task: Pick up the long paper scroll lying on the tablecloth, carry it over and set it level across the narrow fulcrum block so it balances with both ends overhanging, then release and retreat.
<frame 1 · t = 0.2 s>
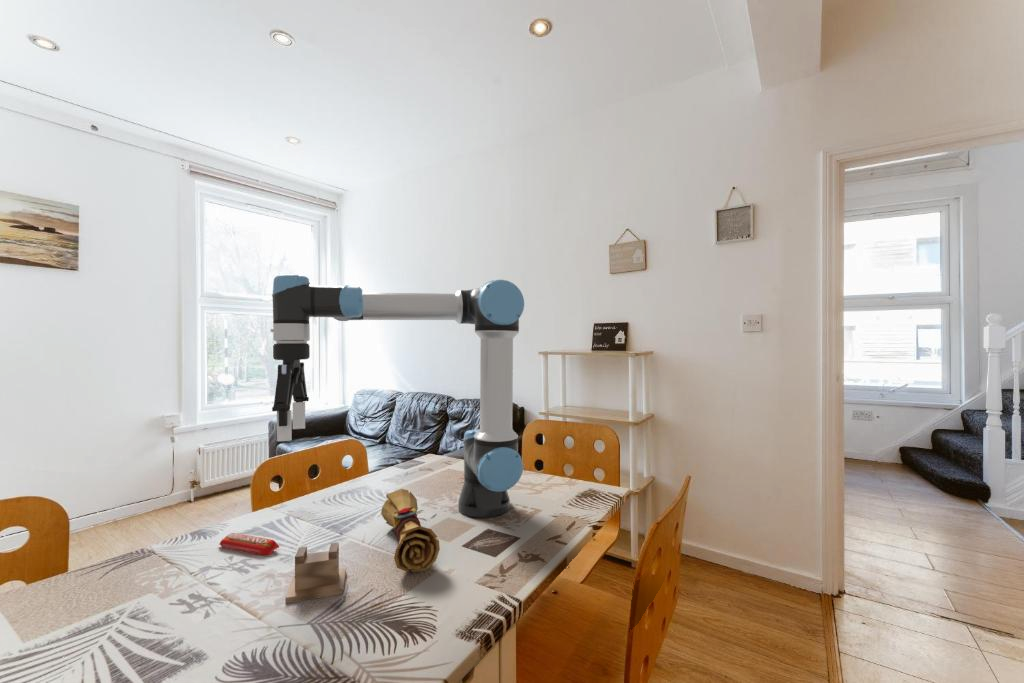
hand: (292, 434, 99), 28 cm above the table, fingers open, 13 cm apart
scroll: (407, 548, 102), on the table
candy bar: (248, 551, 101), on the table
ridge block: (317, 587, 86), on the table
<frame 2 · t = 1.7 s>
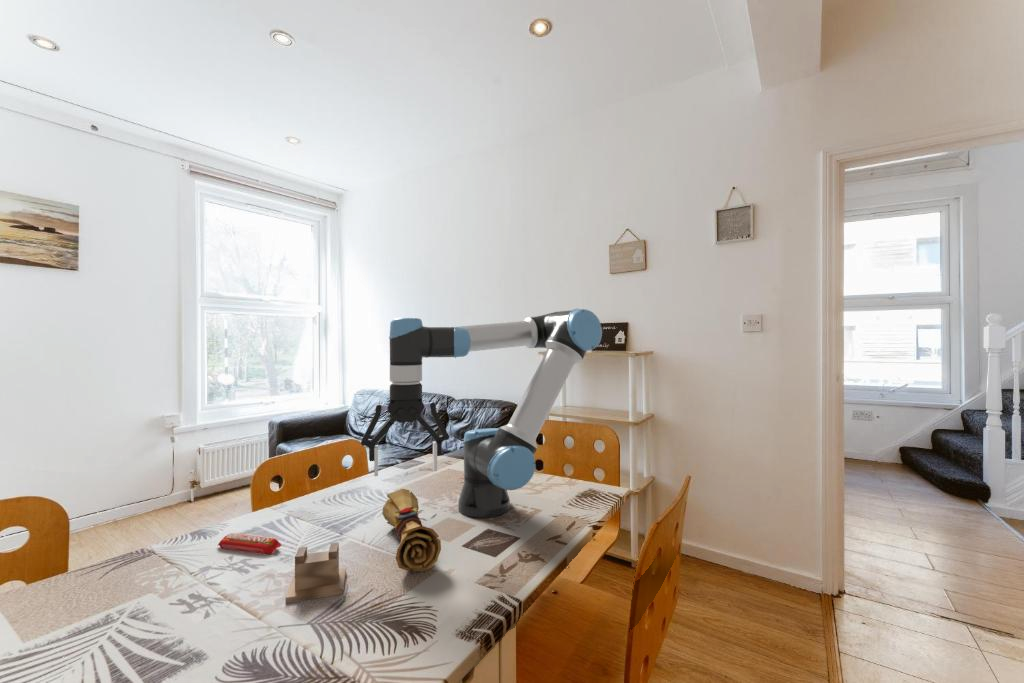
hand: (406, 472, 102), 18 cm above the table, fingers open, 13 cm apart
nothing on the table moved.
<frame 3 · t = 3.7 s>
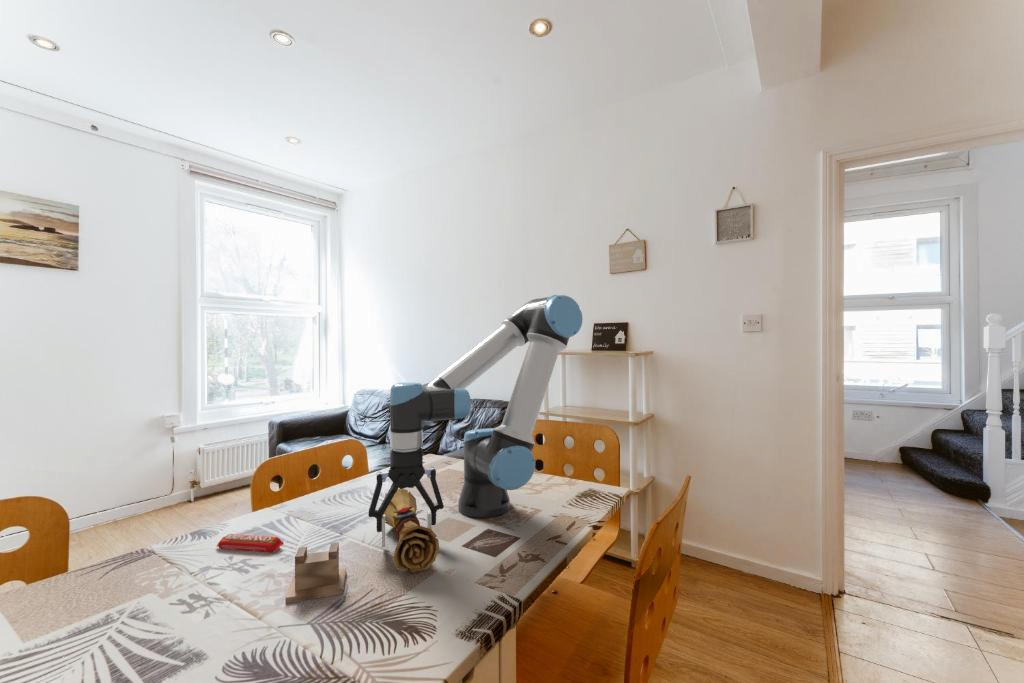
hand: (406, 541, 102), 1 cm above the table, fingers closed on scroll, 10 cm apart
scroll: (406, 548, 102), on the table, touching gripper
everything else where it was.
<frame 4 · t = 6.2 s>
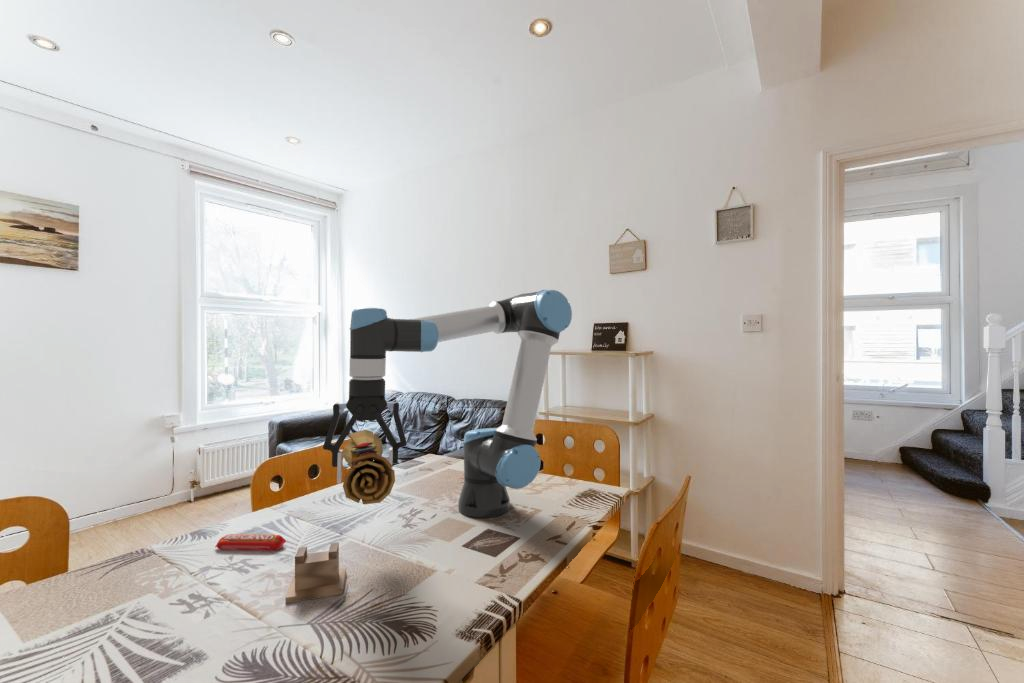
hand: (365, 479, 94), 19 cm above the table, fingers closed on scroll, 10 cm apart
scroll: (365, 486, 94), point 17 cm above the table, touching gripper
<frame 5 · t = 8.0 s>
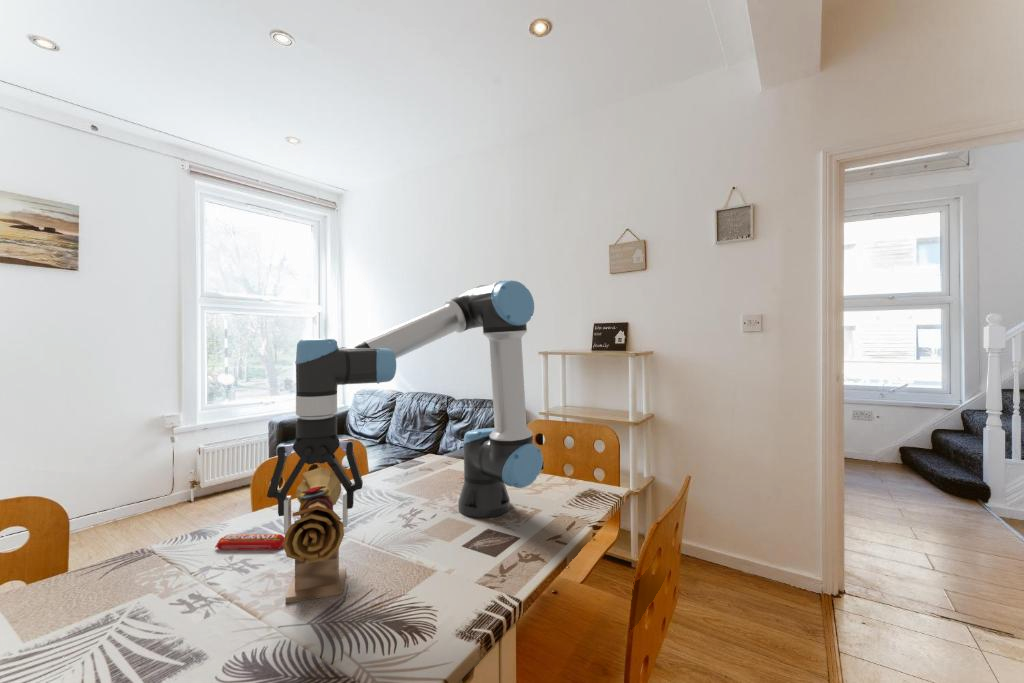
hand: (316, 527, 85), 12 cm above the table, fingers closed on scroll, 10 cm apart
scroll: (316, 535, 85), point 10 cm above the table, touching gripper
when the fingers open (10 cm above the table, at t = 8.9 s): scroll drops 2 cm, resting on ridge block.
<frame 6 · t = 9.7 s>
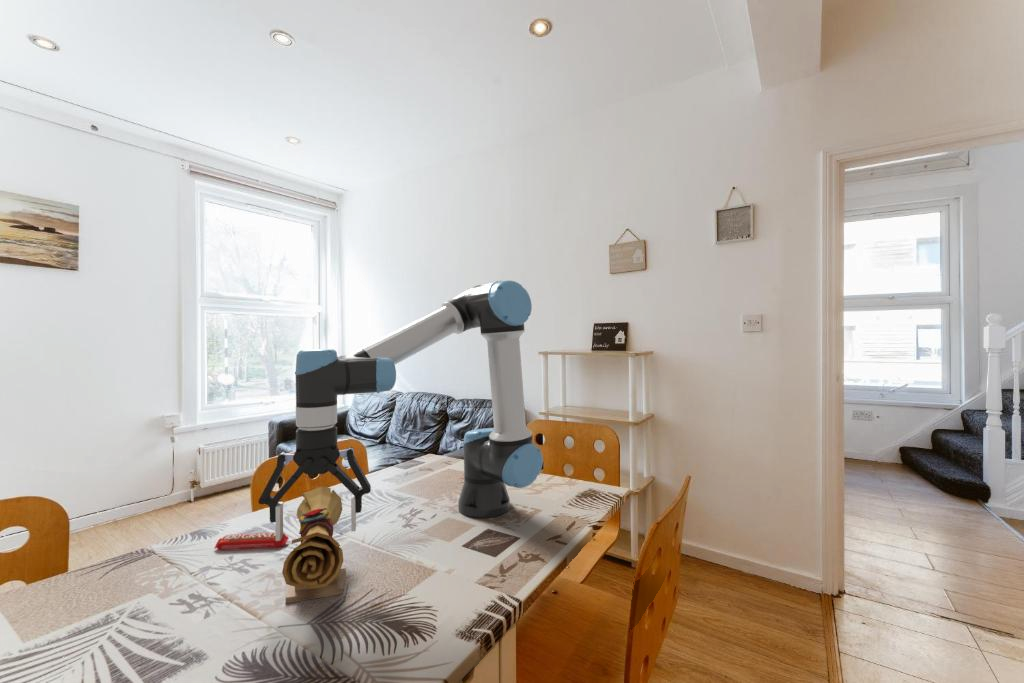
hand: (317, 533, 86), 11 cm above the table, fingers open, 13 cm apart
scroll: (317, 557, 86), point 6 cm above the table, touching ridge block
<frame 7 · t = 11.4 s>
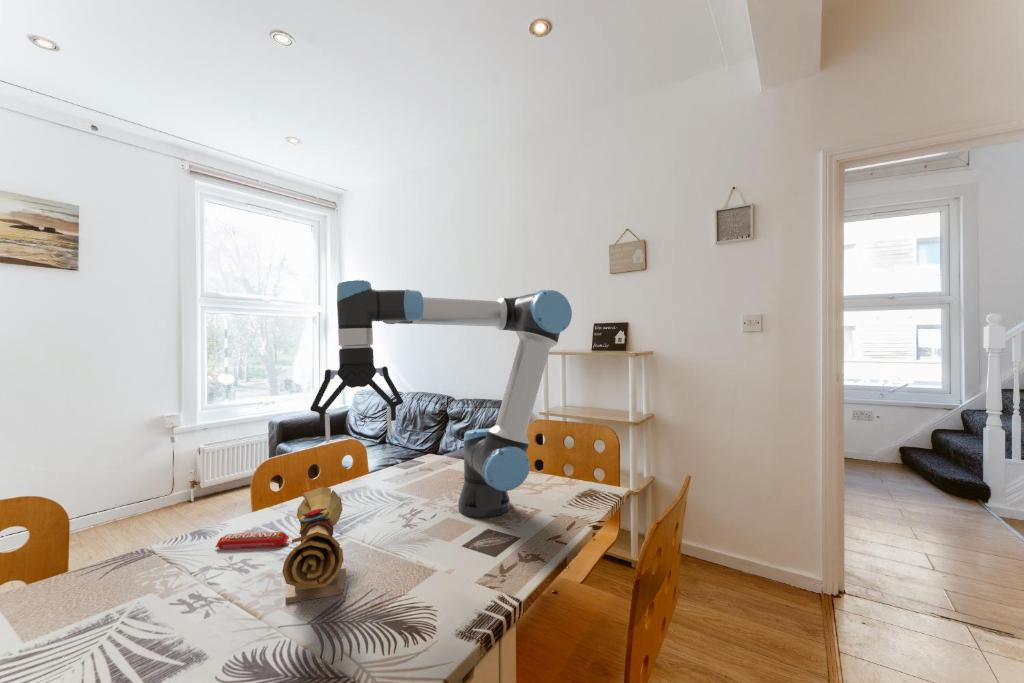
hand: (359, 438, 100), 26 cm above the table, fingers open, 13 cm apart
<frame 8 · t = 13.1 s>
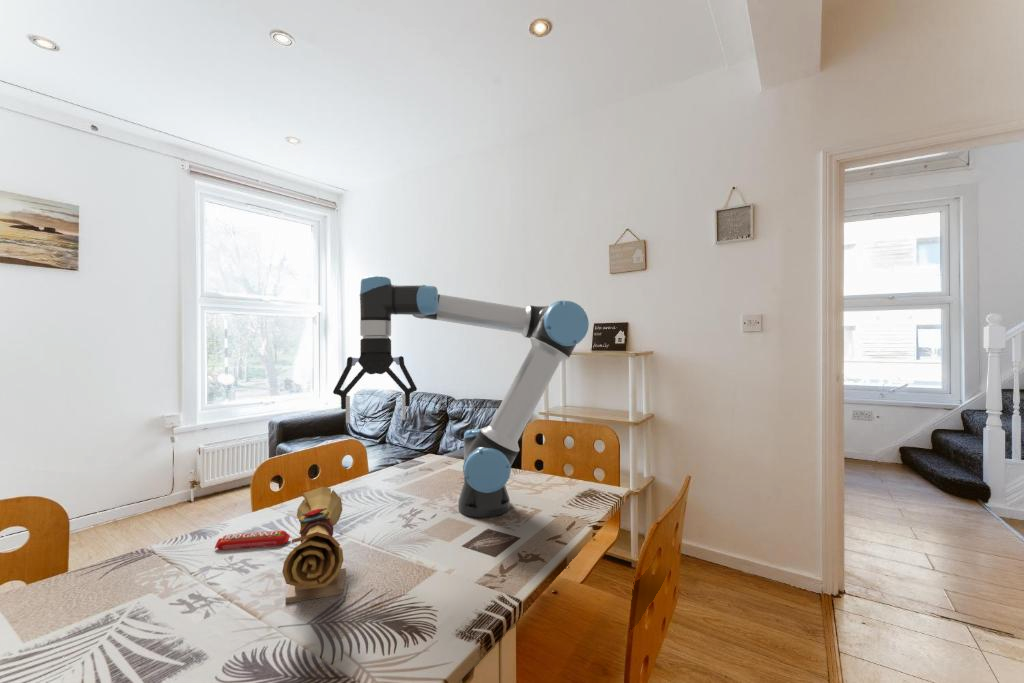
hand: (376, 420, 110), 29 cm above the table, fingers open, 13 cm apart
at the end: scroll inside the target area on the ridge block (0.1 cm from its centre), point 5.8 cm above the ridge block's base; scroll touching ridge block; the gripper is holding nothing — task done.
